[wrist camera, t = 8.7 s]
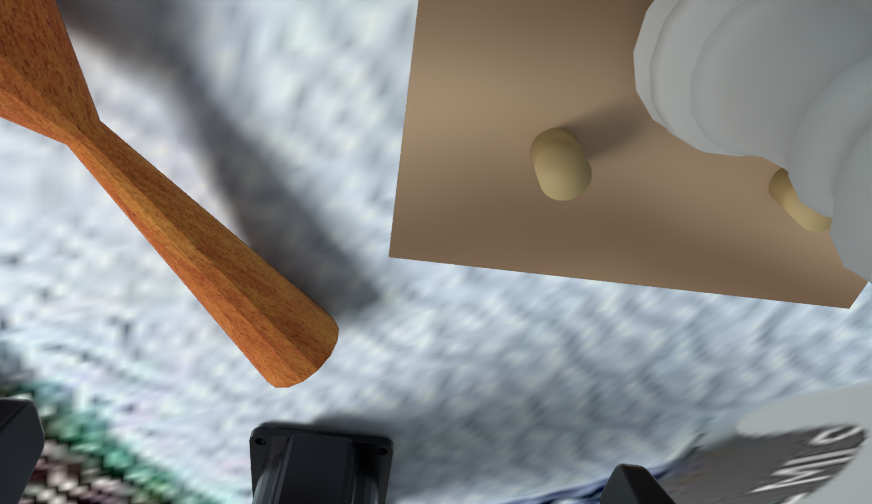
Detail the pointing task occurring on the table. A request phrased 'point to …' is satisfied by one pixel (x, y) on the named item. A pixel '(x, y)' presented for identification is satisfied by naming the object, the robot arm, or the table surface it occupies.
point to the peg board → (585, 165)
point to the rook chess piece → (772, 96)
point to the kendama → (159, 202)
